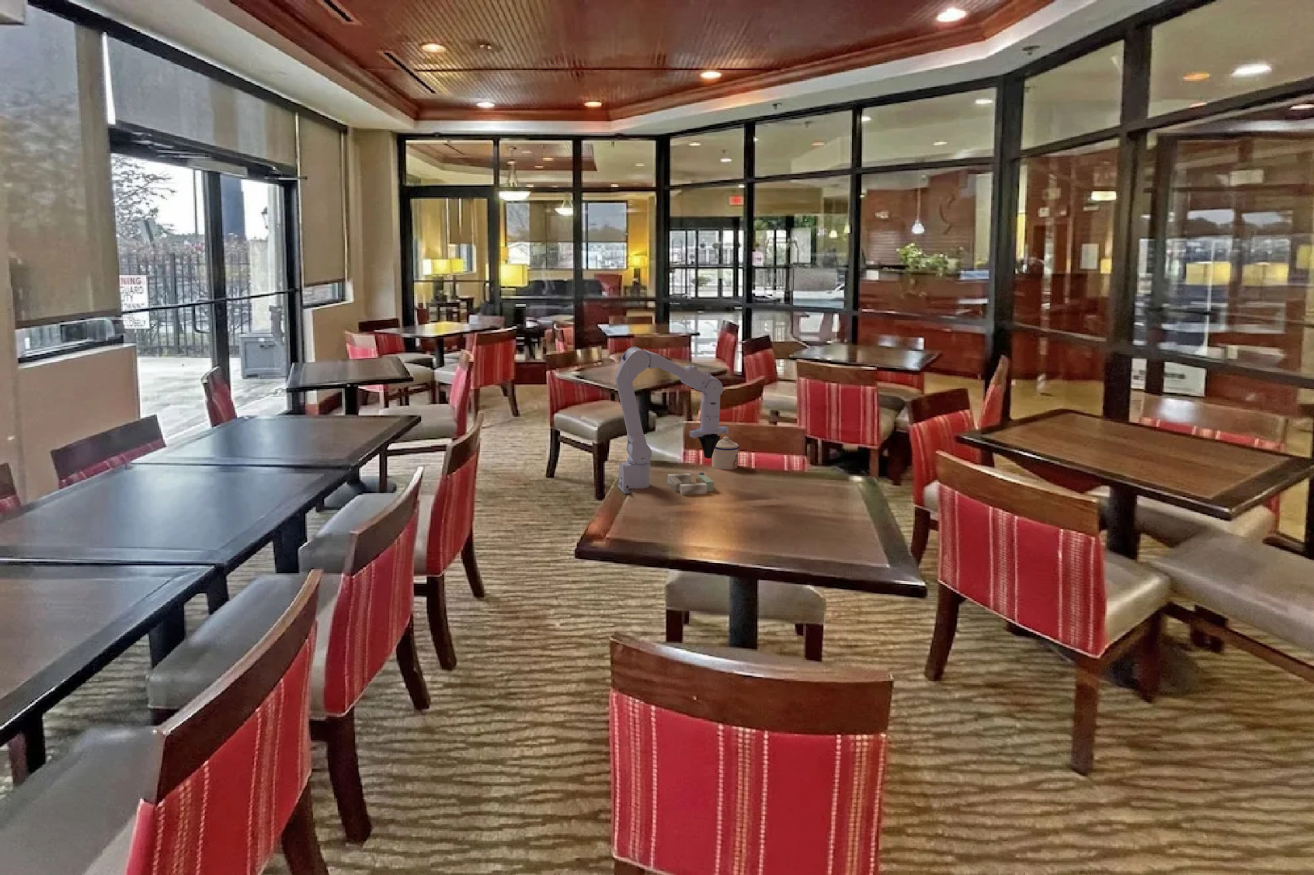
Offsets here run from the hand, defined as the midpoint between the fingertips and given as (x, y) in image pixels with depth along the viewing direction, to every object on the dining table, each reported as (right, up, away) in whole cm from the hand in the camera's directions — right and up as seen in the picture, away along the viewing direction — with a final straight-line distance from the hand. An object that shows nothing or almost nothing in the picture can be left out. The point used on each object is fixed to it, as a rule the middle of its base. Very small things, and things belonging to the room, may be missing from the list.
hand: (708, 457), depth 282 cm
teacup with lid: (+7, -5, +25) cm, 26 cm away
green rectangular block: (-1, -9, -2) cm, 9 cm away
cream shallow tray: (-5, -11, -3) cm, 12 cm away
